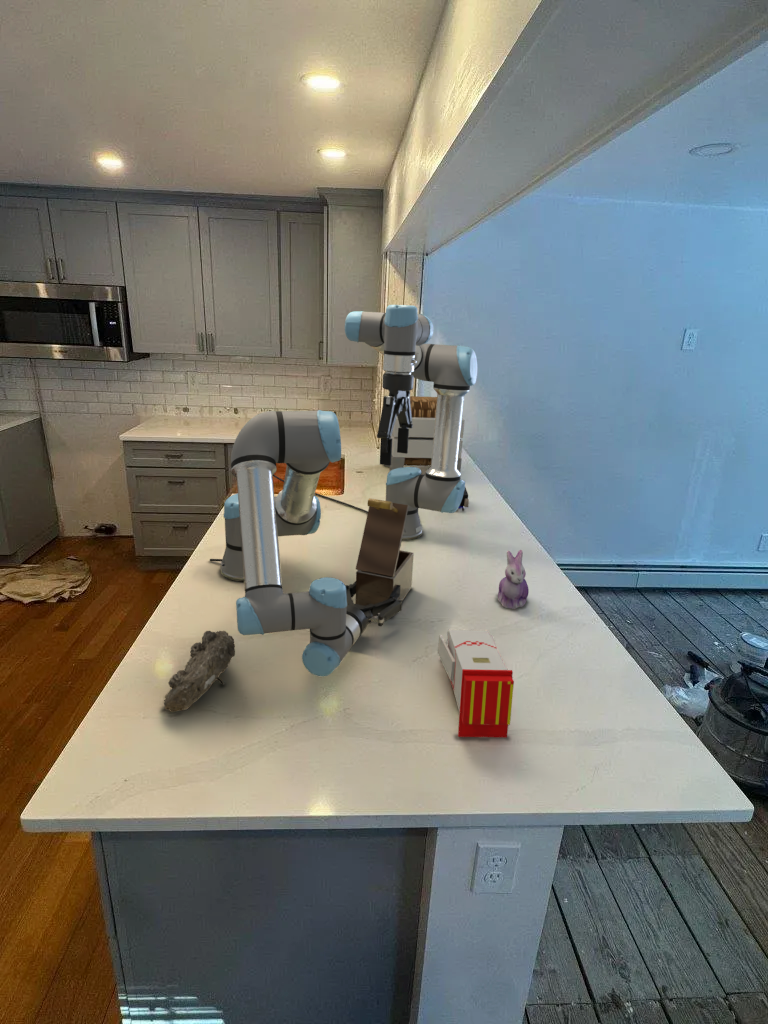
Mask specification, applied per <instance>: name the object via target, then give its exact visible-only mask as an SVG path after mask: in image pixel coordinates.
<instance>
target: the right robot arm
mask: <svg viewBox="0 0 768 1024" xmlns="http://www.w3.org/2000/svg"><path fill="white" fill-rule="evenodd" d="M434 331H435V330H434V323H433V321H432V319H430V318H429V317H428V316H427V315H425V314H422V313H418V307H417V306H416V305H410V304H409V305H408V304H388V305H386V308H385V312H380V311H379V312H377V311H363V310H359V311H357V310H356V311H351V312H349V313H348V314H347V315H346V317H345V321H344V333H345V336H346V338H347V339H348V340H349V342H355V343H364V344H366V345H368V346H369V347H371V348H372V349H374V350H375V351H377V352H378V353H380V354H381V355H383V357H382V358H383V359H382V360H383V362H382V371H383V372H384V373H383V374H382V382H381V383H382V385H381V386H382V388H383V389H384V390H386V391H387V390H388V395H384V396H383V399H382V400H383V401H382V407H381V408H382V409H381V413H380V419H379V424H378V429H377V433H376V438H377V439H380V446H379V447H380V448H379V465H382V466H384V465H389V466H390V465H391V457H392V439H391V435H392V432H393V428H394V425H395V421H396V417H398V421H399V425H400V427H401V428H398V443H397V453H405V454H407V453H408V438H409V429H408V428H412V427H413V424H412V416H411V405H410V396H411V391H412V390H413V389H414V384H415V383H414V381H415V380H414V379H417V380H420V381H423V382H431V383H433V385H432V386H433V387H432V388H433V390H434V391H435V393H436V397H437V404H436V416H435V427H434V438H433V449H432V461H431V465H430V466H429V468H427V469H426V470H425V474H424V473H423V474H422V470H421V468H419V467H416V466H404V467H403V468H397V469H393V470H391V471H390V470H389V471H388V473H387V475H386V482H385V501H390V502H393V503H398V504H404V505H408V506H409V507H408V512H407V517H406V522H405V527H404V532H403V537H402V541H410V540H415V539H418V538H420V537H421V536H422V535H423V525H422V524H421V518H420V515H419V509H420V510H427V511H433V512H438V513H442V514H443V513H445V514H454V513H456V512H457V511H458V509H459V508H458V507H459V506H460V503H461V501H462V498H463V494H464V490H465V487H466V481H465V480H463V479H461V475H462V473H460V472H459V471H458V470H457V460H458V451H459V441H460V439H461V438H460V431H461V422H462V419H463V410H464V402H465V396H466V395H467V394H468V393H469V392H470V388H471V387H472V386H474V385H476V382H477V378H478V359H477V354H476V352H475V350H474V349H473V348H472V347H470V346H464V345H455V344H454V345H452V344H438V343H437V344H436V343H435V344H434V343H428V342H430V340H431V339H432V337H433V335H434ZM272 476H273V478H275V479H277V480H279V481H280V482H283V483H284V479H282V478H280V477H279V476H277V475H276V474H275V473H274V474H273V475H272ZM315 496H316V497H320V498H324V499H327V500H330V501H332V502H335V503H337V504H338V503H339V504H341V505H344V506H347V507H350V508H353V509H355V510H357V511H361V512H362V513H366V515H367V514H368V510H366V509H363V508H361V507H358V506H355V505H352V504H350V503H347V502H344V501H341V500H339V499H336V498H332V497H330V496H329V497H328V496H326V495H323V494H319V493H317V492H315ZM456 510H457V511H456Z"/></svg>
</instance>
